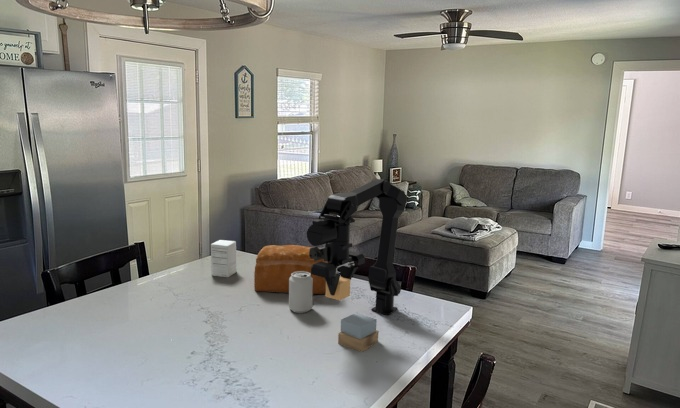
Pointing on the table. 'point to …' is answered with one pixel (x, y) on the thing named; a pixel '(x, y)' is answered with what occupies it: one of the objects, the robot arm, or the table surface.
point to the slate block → (358, 325)
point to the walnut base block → (357, 341)
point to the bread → (284, 268)
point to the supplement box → (223, 258)
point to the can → (300, 291)
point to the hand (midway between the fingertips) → (337, 292)
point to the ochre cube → (340, 289)
